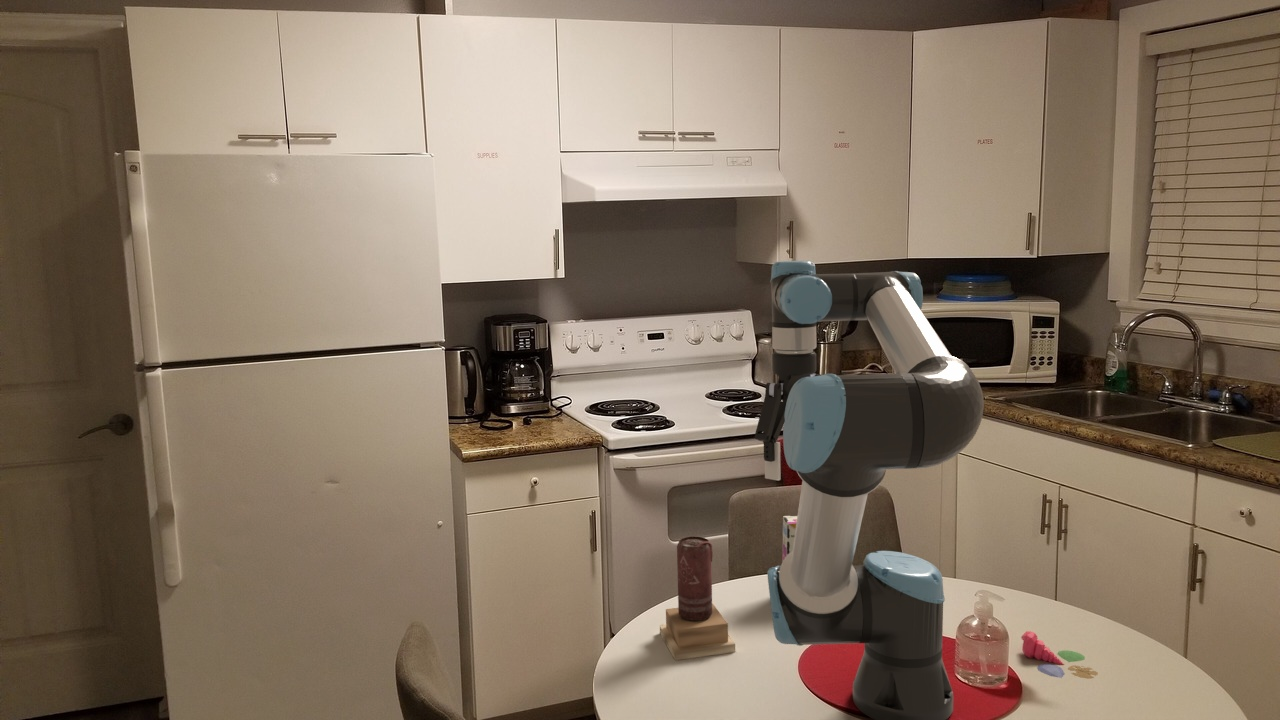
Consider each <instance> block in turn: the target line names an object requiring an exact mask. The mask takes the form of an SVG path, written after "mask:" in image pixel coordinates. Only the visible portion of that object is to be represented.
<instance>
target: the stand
mask: <svg viewBox="0 0 1280 720" xmlns="http://www.w3.org/2000/svg"><path fill="white" fill-rule="evenodd" d="M659 634H660V636H661V638H662V639H663V641H664V643H665V644H666V647H667V648H668V650H669V652H670V654H671V655H672V657H673V658H674V661H678V660H679V661H680V660H685V659H694V658H701V657H707V656H715V655H723V654H729V653H735V652H736V642H735V641H734V640H733V639H732V637H731V636H730V634H729V623H728V622H727V620H726V619H725V617H724V616H723V615H722V613H720V611H719V610H718V609H717V607H716V606H715V605H714V603H713V602H712V614H711V616H710V618H708V619H707V620H704V621H699V622H692V621H687V620H684V619H682V618H681V616H680V615H679V611H678V607H672V608H666V609H665V624H662V625H659Z"/></svg>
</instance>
